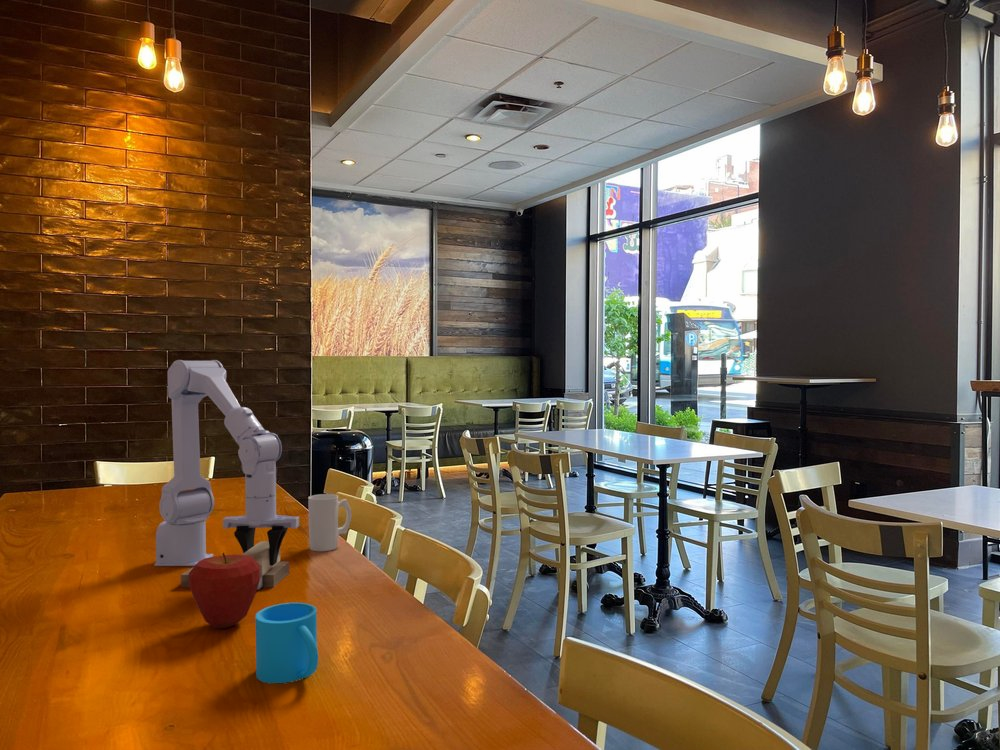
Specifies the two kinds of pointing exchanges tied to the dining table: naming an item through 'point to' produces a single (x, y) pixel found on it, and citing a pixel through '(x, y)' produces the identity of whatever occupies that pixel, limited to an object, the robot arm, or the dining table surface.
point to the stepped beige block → (261, 557)
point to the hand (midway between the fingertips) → (261, 564)
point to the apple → (224, 588)
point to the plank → (268, 578)
